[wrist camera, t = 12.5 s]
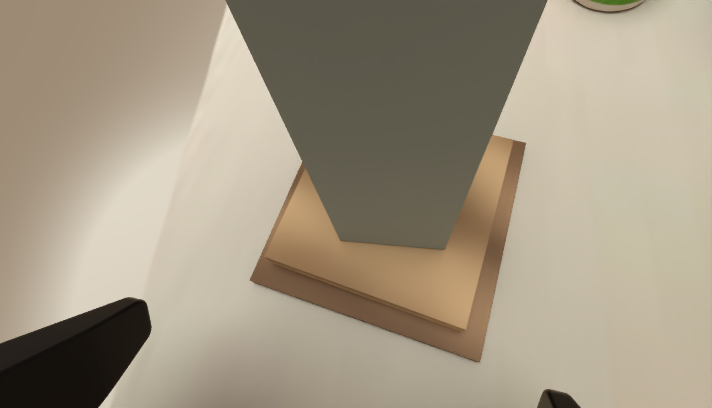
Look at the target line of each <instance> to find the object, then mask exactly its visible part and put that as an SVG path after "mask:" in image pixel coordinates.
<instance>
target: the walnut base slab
mask: <svg viewBox="0 0 712 408" xmlns="http://www.w3.org/2000/svg"><path fill="white" fill-rule="evenodd" d="M525 145H526V143H524V142H519V141H515V140H514V141H513V145H512V148H511V152H510V156H509V160H508V164H507V168H506V172H505V176H504V180H503V184H502V188H501V192H500V196H499V200H498V204H497V208H496V212H495V216H494V220H493V224H492V228H491V232H490V236H489V240H488V244H487V248H486V252H485V256H484V260H483V264H482V268H481V272H480V276H479V280H478V284H477V288H476V291H475V295H474V299H473V303H472V307H471V311H470V315H469V319H468V323H467V327H466V330H464V331H462V332H459V331H456V330H454V329H451V328H448V327H445V326H443V325H440V324H437V323H434V322H432V321H429V320H426V319H423V318H421V317H418V316H415V315H412V314H410V313H407V312H404V311H401V310H399V309H396V308H393V307H391V306H388V305H385V304H382V303H380V302H377V301H374V300H371V299H369V298H366V297H363V296H360V295H358V294H355V293H352V292H349V291H347V290H344V289H341V288H338V287H336V286H333V285H330V284H328V283H325V282H322V281H319V280H317V279H314V278H311V277H308V276H306V275H303V274H300V273H297V272H295V271H292V270H289V269H286V268H284V267H281V266H278V265H275V264H273V263H272V262H271V261H269V260H268V259H266V258H265V257H264V256H265V254H266V252H267V249H268V247H269V245H270V243H271V241H272V239H273V236H274V234H275V232H276V230H277V228H278V226H279V224H280V221H281V219H282V217H283V215H284V213H285V211H286V209H287V206H288V204H289V202H290V200H291V198H292V196H293V194H294V191H295V189H296V187H297V185H298V183H299V181H300V179H301V176H302V174H303V172H304V170H305V166H304V164H303V162H302V164H301V166H300V168H299V171H298V173H297V175H296V177H295V180H294V182H293V184H292V186H291V189H290V191H289V193H288V195H287V198H286V200H285V202H284V204H283V207H282V209H281V211H280V213H279V216H278V218H277V220H276V222H275V225H274V227H273V229H272V231H271V234H270V236H269V238H268V240H267V243H266V245H265V247H264V249H263V252H262V254H261V256H260V258H259V260H258V263H257V265H256V267H255V269H254V272H253V274H252V276H251V278H250V281H252V282H254V283H257V284H260V285H263V286H265V287H268V288H271V289H274V290H277V291H280V292H282V293H285V294H288V295H291V296H294V297H296V298H299V299H302V300H305V301H308V302H310V303H313V304H316V305H319V306H322V307H325V308H327V309H330V310H333V311H336V312H339V313H341V314H344V315H347V316H350V317H353V318H355V319H358V320H361V321H364V322H367V323H370V324H372V325H375V326H378V327H381V328H384V329H386V330H389V331H392V332H395V333H398V334H400V335H403V336H406V337H409V338H412V339H415V340H417V341H420V342H423V343H426V344H429V345H431V346H434V347H437V348H440V349H443V350H445V351H448V352H451V353H454V354H457V355H459V356H462V357H465V358H468V359H471V360H474V361H476V362H480V360H481V355H482V350H483V346H484V341H485V336H486V331H487V326H488V322H489V317H490V312H491V307H492V303H493V298H494V293H495V288H496V284H497V279H498V274H499V269H500V264H501V260H502V255H503V250H504V245H505V241H506V236H507V231H508V226H509V221H510V217H511V212H512V207H513V202H514V198H515V193H516V188H517V183H518V178H519V174H520V169H521V164H522V159H523V155H524V150H525Z"/></svg>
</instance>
